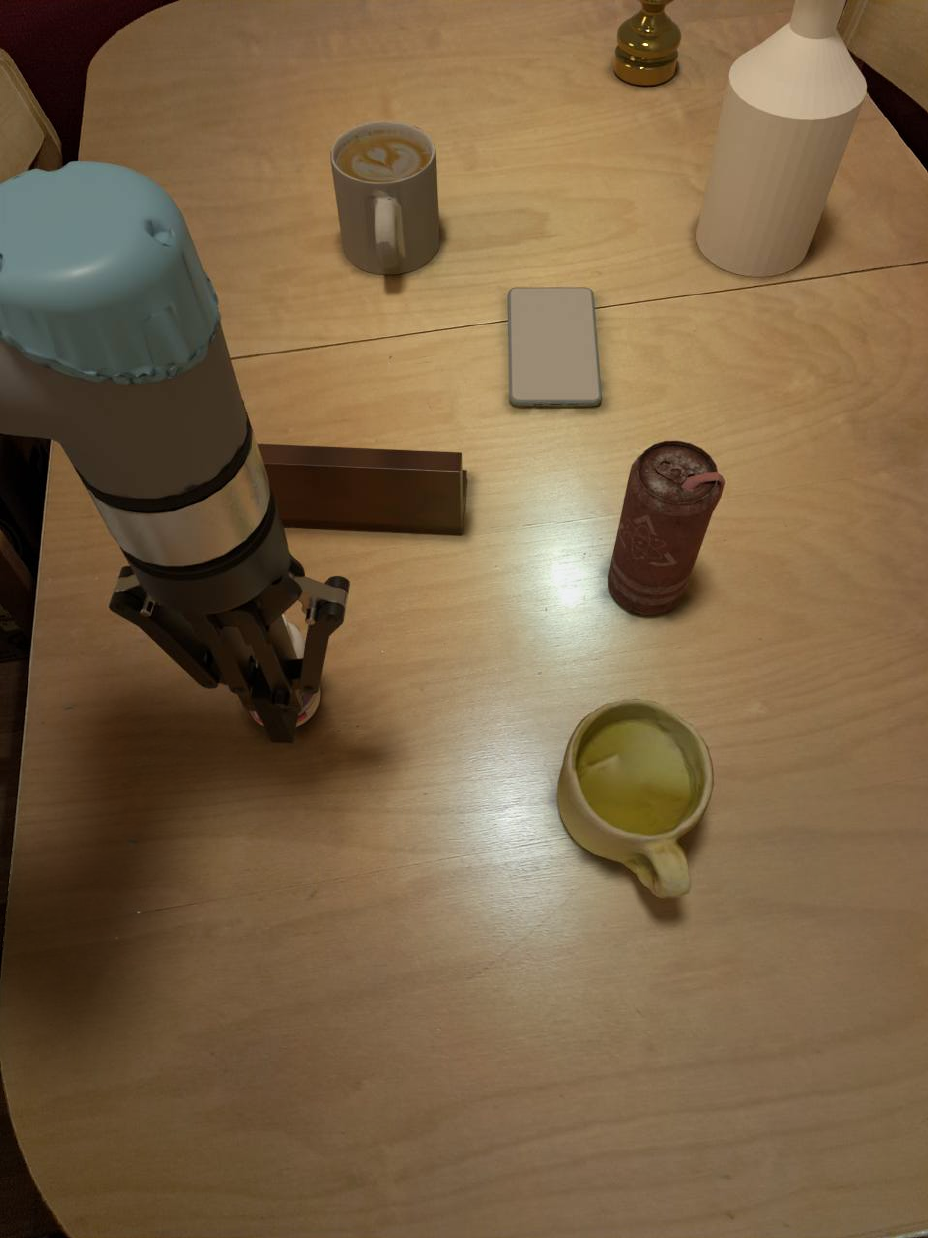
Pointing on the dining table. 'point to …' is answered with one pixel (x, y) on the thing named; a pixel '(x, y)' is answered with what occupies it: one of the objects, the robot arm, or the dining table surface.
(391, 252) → the coffee mug
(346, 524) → the brown long rectangular block
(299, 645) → the pill bottle
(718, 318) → the dining table surface
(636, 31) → the salt shaker
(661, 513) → the can
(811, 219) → the bottle
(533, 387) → the smartphone
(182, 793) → the dining table surface
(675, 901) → the dining table surface
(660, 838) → the mug
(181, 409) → the robot arm
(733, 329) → the dining table surface
